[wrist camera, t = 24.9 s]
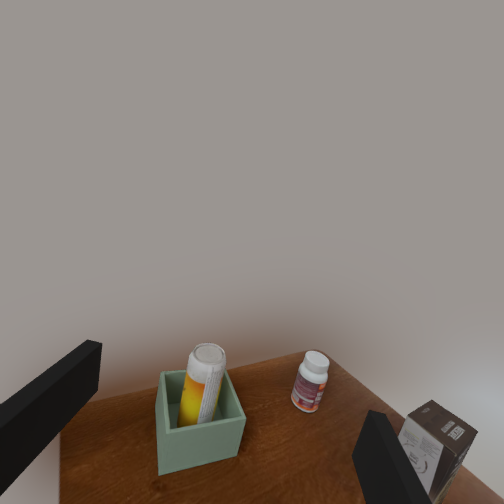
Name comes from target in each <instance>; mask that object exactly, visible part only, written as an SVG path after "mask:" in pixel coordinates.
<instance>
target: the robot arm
mask: <svg viewBox="0 0 504 504" xmlns="http://www.w3.org/2000/svg"><path fill="white" fill-rule="evenodd" d="M101 352H102V343H99V342H95V341H91V340H86V341H85V342H83V343H82V344H81V345H79V346H78V347H77V348H75V349H74V350H73V351H71V352H70V353H69V354H67V355H66V356H65V357H63V358H62V359H61V360H59V361H58V362H57V363H55V364H54V365H53V366H51V367H50V368H49V369H47V370H46V371H45V372H43V373H42V374H41V375H39V376H38V377H37V378H35V379H34V380H33V381H31V382H30V383H29V384H27V385H26V386H25V387H23V388H22V389H21V390H19V391H18V392H17V393H15V394H14V395H13V396H11V397H10V398H9V399H7V400H6V401H5V402H3V403H2V404H0V496H1V495H2V494H3V493H4V492H5V491H6V490H7V488H8V487H9V486H10V485H11V484H12V483H13V482H14V481H15V480H16V479H17V478H18V476H19V475H20V474H21V473H22V472H23V471H24V470H25V469H26V468H27V467H28V466H29V465H30V463H31V462H32V461H33V460H34V459H35V458H36V457H37V456H38V455H39V454H40V453H41V452H42V450H43V449H44V448H45V447H46V446H47V445H48V444H49V443H50V442H51V441H52V440H53V438H54V437H55V436H56V435H57V434H58V433H59V432H60V431H61V430H62V429H63V428H64V427H65V425H66V424H67V423H68V422H69V421H70V420H71V419H72V418H73V417H74V416H75V415H76V414H77V412H78V411H79V410H80V409H81V408H82V407H83V406H84V405H85V404H86V403H87V402H88V400H89V399H90V398H91V397H92V396H93V395H94V394H95V393H96V392H97V391H98V381H99V372H100V361H101ZM352 459H353V462H354V465H355V469H356V472H357V475H358V478H359V482H360V485H361V488H362V491H363V495H364V498H365V501H366V504H432V502H431V500H430V498H429V496H428V494H427V492H426V490H425V488H424V487H423V485H422V483H421V481H420V479H419V477H418V475H417V473H416V471H415V469H414V468H413V466H412V464H411V462H410V460H409V458H408V456H407V454H406V452H405V450H404V449H403V447H402V445H401V443H400V441H399V439H398V437H397V435H396V433H395V431H394V430H393V428H392V426H391V424H390V422H389V420H388V418H387V416H386V414H383V413H379V412H375V411H371V410H369V411H368V414H367V417H366V419H365V422H364V425H363V427H362V430H361V432H360V435H359V438H358V440H357V443H356V445H355V448H354V451H353V453H352Z"/></svg>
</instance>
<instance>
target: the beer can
mask: <svg viewBox="0 0 504 504" xmlns="http://www.w3.org/2000/svg"><path fill="white" fill-rule="evenodd" d="M225 366H226V357H225V352H224V350H223V349H222V348H221V347H219V346H218V345H215V344H212V343H203V344H199V345H197V346H196V347H195V348H194V349H193V351H192V352H191V354H190V356H189V361H188V366H187V371H186V376H185V382H184V387H183V392H182V398H181V403H180V408H179V413H178V419H177V428H181V427H186V426H192V425H197V424H203V423H208V422H213V419H214V414H215V410H216V405H217V401H218V397H219V392H220V388H221V383H222V379H223V375H224V370H225Z"/></svg>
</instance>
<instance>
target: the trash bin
mask: <svg viewBox="0 0 504 504" xmlns="http://www.w3.org/2000/svg"><path fill="white" fill-rule="evenodd" d="M186 371H187V370H176V371H165V372H161V374H160V380H159V386H158V392H157V398H156V404H155V412H156V432H157V452H158V472H159V476H160V475H164V474H168V473H171V472H175V471H179V470H183V469H187V468H191V467H195V466H199V465H203V464H207V463H211V462H215V461H219V460H222V459H226V458H230V457H234V456H237V453H238V449H239V445H240V441H241V437H242V434H243V430H244V426H245V422H246V417H245V414H244V412H243V409H242V407H241V405H240V402H239V400H238V397H237V395H236V392H235V390H234V388H233V385H232V383H231V380H230V378H229V376H228V373H227V371H226V369H225V370H224V375H223V379H222V383H221V388H220V392H219V397H218V401H217V405H216V410H215V414H214V419H213V422H208V423H203V424H197V425H192V426H186V427H181V428H177V419H178V413H179V408H180V403H181V398H182V392H183V387H184V382H185V376H186Z"/></svg>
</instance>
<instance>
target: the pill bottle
mask: <svg viewBox="0 0 504 504" xmlns="http://www.w3.org/2000/svg"><path fill="white" fill-rule="evenodd" d="M328 367H329V360H328V359H327V357H325V356H324V355H323V354H321V353H319V352H316V351H308V352H307V353H306V355H305V358H304V362H302V363H301V365H300V367H299V370H298V374H297V377H296V381H295V384H294V387H293V391H292V394H291V399H292V401H293V403H294V405H295V406H296V407H297V408H299V409H300V410H302V411H304V412H308V413H311V412H314V411H316V410H317V409H318V406H319V403H320V400H321V397H322V394H323V391H324V388H325V385H326V382H327V378H328V374H327V370H328Z"/></svg>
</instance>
